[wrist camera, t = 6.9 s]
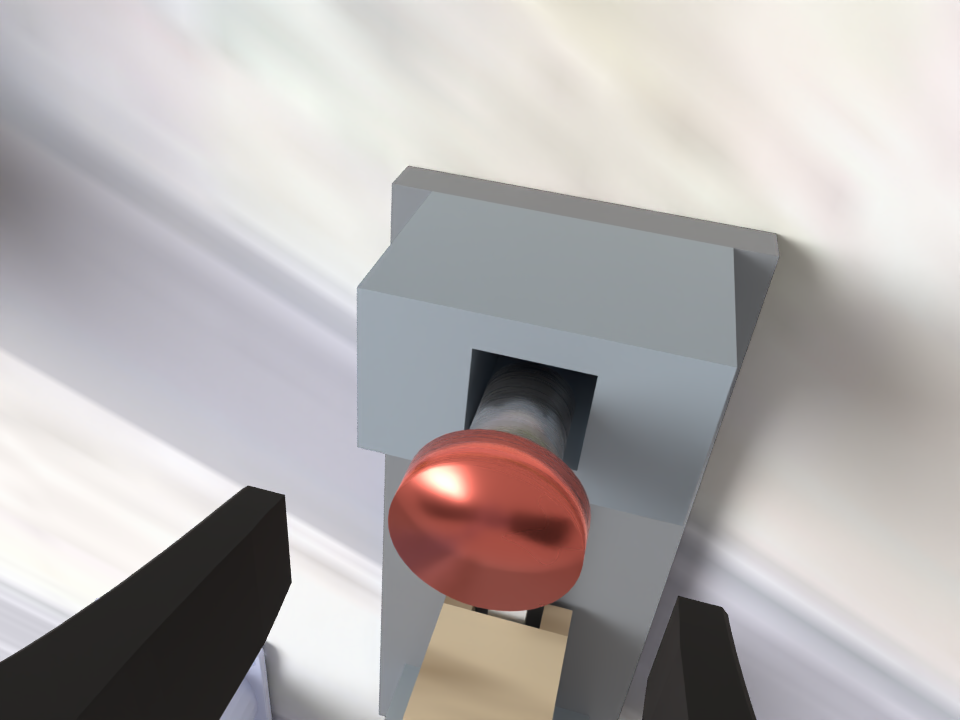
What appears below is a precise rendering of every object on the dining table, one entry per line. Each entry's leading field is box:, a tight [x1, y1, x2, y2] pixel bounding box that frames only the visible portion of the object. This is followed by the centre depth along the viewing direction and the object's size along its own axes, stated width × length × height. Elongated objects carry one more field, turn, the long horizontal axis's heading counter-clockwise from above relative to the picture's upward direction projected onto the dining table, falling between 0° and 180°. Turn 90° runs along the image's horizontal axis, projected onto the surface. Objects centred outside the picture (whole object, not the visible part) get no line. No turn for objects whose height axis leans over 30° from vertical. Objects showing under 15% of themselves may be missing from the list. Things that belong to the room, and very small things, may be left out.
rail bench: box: [357, 166, 779, 720], centre depth 23 cm, size 23×9×6 cm, turn 175°
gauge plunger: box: [388, 362, 591, 611], centre depth 14 cm, size 3×3×4 cm
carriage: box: [403, 596, 572, 720], centre depth 25 cm, size 5×4×5 cm
